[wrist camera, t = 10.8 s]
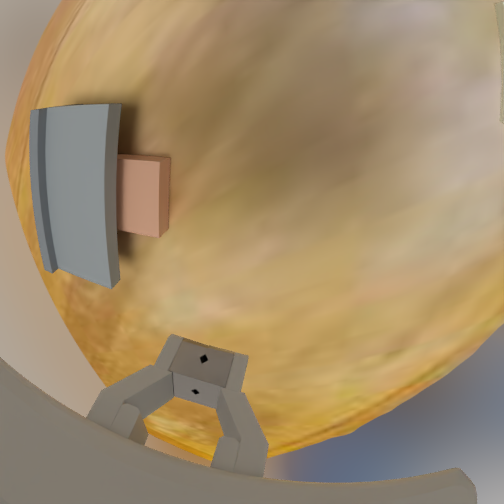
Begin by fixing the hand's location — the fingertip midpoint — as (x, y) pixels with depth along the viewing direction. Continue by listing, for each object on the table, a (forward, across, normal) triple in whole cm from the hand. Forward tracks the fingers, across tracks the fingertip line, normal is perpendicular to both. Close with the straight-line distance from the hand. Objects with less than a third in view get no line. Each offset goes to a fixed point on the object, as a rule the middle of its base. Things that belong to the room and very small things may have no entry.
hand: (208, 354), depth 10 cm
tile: (+26, +20, +5) cm, 33 cm away
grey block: (+25, +24, +5) cm, 35 cm away
